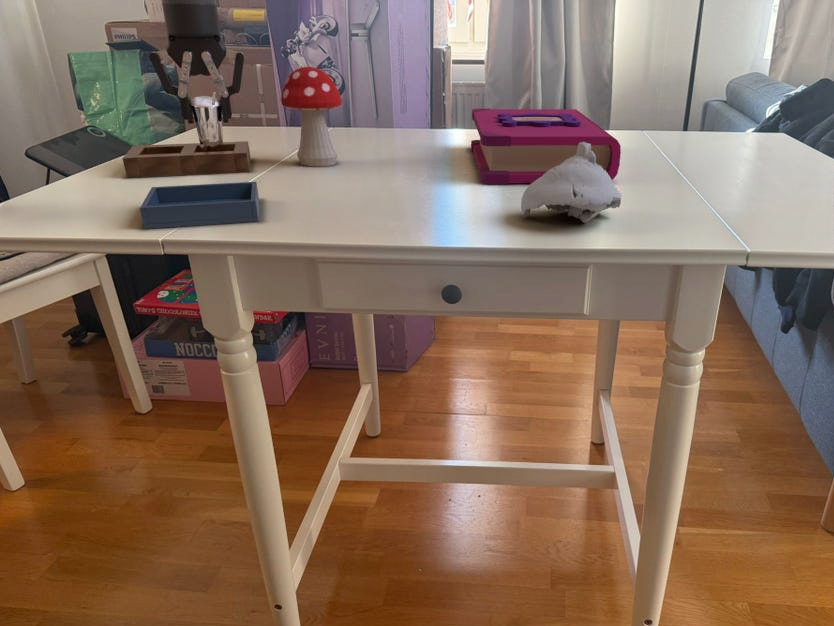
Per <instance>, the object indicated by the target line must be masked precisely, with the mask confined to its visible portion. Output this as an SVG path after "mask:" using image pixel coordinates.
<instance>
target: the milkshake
mask: <svg viewBox="0 0 834 626" xmlns="http://www.w3.org/2000/svg"><path fill="white" fill-rule="evenodd" d="M216 96H217V95H216V91H214V92H212V96H207V95H200V96H194V97H193V98H192V99H191V102H190V104H191V107H192V111H193V117H194V124H195V128H196V132H197V137H198V141H199V143H200V146H201V150H202V152H222V151H224V148H223V142H224V135H223V133H224V131H223V116H222V109H221V103H220V99H218V98H217V97H216Z"/></svg>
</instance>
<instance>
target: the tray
mask: <svg viewBox="0 0 834 626" xmlns="http://www.w3.org/2000/svg"><path fill="white" fill-rule="evenodd" d="M139 212H140V215H141V216H140V217H141V219H142V220H141V221H142V224H143V229H144V230H151V229H165V228H166V229H167V228H180V227H181V228H182V227H196V226H197V227H198V226H210V225H224V224H225V225H227V224H238V223H239V224H240V223H254V222H255V223H256V222H259V221H260V196H259V189H258V182H257V181H243V182H224V183H223V182H221V183H205V184H204V183H203V184H184V185H169V186H165V185H164V186H151V187H150V190H149V192H148V193H147V194H146V197H145V198H144V200H143V202H142V203H141V205H140V207H139Z"/></svg>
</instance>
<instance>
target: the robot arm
mask: <svg viewBox="0 0 834 626" xmlns="http://www.w3.org/2000/svg"><path fill="white" fill-rule="evenodd" d="M160 1H161V7H162V12H163V17H164V18H163V19H164V23H165V28H166V35H167V44H166V47H165V48H166V49H162V50H158V51H151V52H150V53H149V55H148V57H149V61H150V62H151V64H152V67H153V69H154V71H155V73H156V75H157V77H158V79H159V81H160V83H161V86H162V88H163V90H164V92H165V93H166V94H167V95H172V96H176V97H177V98H178V99H179V104H180V109H181V115H182V118H183V119H184V120H185V121H187V123H188V124H189V125H191V124H192V125H193V124H195V119H194V115H193V111H192V107H191V104H190V102H191V100H192V99H191V96H189V89H190V88H189V87H190V82H191V78H192V77H196V76H199V75H200V76H201V75H202V76H205V77H211V78H212V81H213V83H214V84H215V86H216V88H217V90H218V92H219V95H220V97H219V101H220V103H221V109H222V123H224V124H228V123H229V120H230V119H232V116H233V111H232V104H231V96H233V95H235V94H238V93H240V91H241V86H242V78H243V70H244V62H245V53H244V52H242V51H235V50H232V49H228V48H227V47H226V45H225V44H224V42H223V39H222V31H221V27H220V20H219V13H218V6H217V0H160ZM168 57H170V59H171V60H172V61H173V62H174V64H176V65H177V67H178V68H179V69H180V73H179V74H180V75H179V81H178V82H179V83H178V86H177V85H175V84H174V83H173V80H172V79H171V76H170V73H169V72H168V70H167V68H166V66H167V65H168V63H169V62H168ZM225 57H227V58H228V60H229V64H230V65H231V66H232V67H234V68H233V75H232V83H231V84H230V85H227V84H226V82H225V80H224V77H223V75H222V72H221V70H220V69H219V68H220V67H221V65H222V63H223V62H224V60H225Z"/></svg>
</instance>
